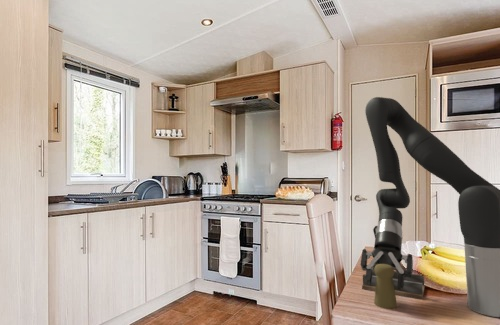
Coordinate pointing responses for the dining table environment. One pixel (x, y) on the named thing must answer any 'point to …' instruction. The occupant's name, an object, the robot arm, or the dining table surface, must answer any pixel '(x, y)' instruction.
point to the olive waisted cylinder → (385, 287)
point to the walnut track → (411, 288)
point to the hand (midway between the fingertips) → (383, 285)
